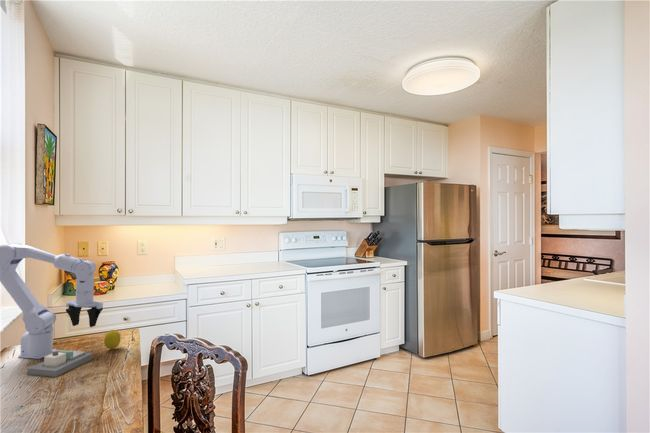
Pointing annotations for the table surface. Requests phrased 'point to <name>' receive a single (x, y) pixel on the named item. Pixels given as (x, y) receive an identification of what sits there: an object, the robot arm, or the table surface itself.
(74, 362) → the socket plate
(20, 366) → the table surface
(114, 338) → the lemon
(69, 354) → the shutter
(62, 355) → the plug
